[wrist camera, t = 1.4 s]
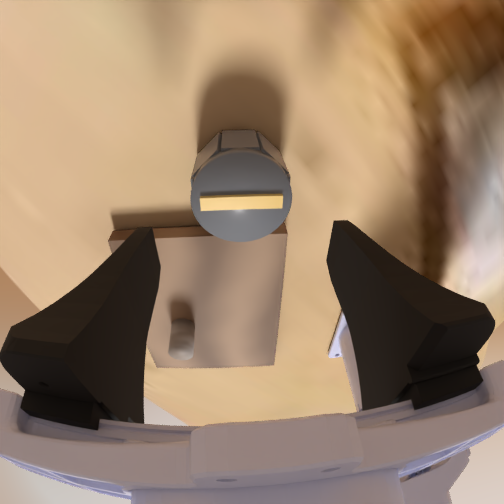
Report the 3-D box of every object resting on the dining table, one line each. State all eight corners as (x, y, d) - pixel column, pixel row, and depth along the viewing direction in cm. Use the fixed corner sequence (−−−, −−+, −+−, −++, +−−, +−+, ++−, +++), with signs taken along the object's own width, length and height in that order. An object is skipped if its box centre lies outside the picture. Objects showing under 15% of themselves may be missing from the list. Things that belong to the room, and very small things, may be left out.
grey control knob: (282, 129, 17) (296, 154, 13) (278, 204, 20) (289, 243, 17) (194, 132, 17) (185, 157, 13) (200, 206, 20) (195, 246, 16)
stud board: (284, 223, 21) (295, 261, 18) (272, 355, 31) (277, 389, 28) (113, 230, 20) (95, 268, 17) (158, 358, 30) (153, 390, 27)
